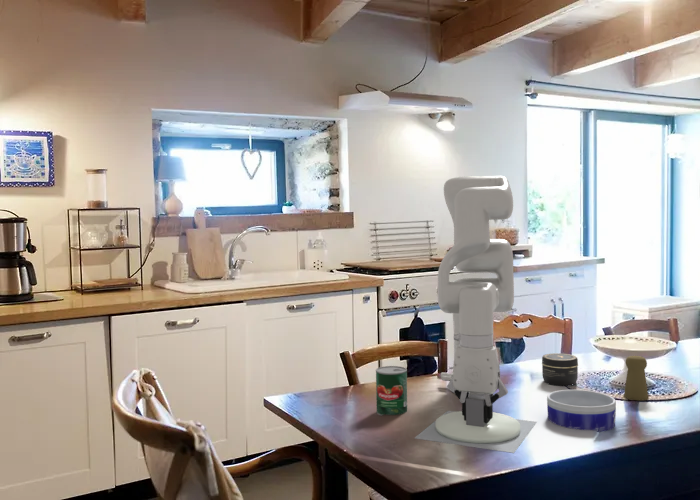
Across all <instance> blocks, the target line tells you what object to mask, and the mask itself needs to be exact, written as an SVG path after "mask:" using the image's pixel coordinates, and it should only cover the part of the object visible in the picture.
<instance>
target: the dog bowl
mask: <svg viewBox="0 0 700 500" xmlns="http://www.w3.org/2000/svg"><path fill="white" fill-rule="evenodd" d="M546 405H547V406H546V407H547V408H546V409H547V419H548V420H549V421H550V422H551V423H552V424H555V425H557V426H559V427H563V428H567V429H574V430H581V431H596V433H602V432H606V431H611V430H612V429H614V428H615V426H616V416H617V415H616V411H617V407H616V406H617V403H616V399H615V398H614V397H613V396H610V395H609V394H606V393H603V392H598V391H593V390H585V389H562V390H561V389H560V390H554V391H552V392H550V393H548V394H547V396H546Z"/></svg>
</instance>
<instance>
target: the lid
mask: <svg viewBox="0 0 700 500" xmlns="http://www.w3.org/2000/svg"><path fill="white" fill-rule="evenodd" d="M485 403H486V401H485V396H484V395H474V394H471V395H469V397H467V398H466V421H465V420H464V416H463V415H462V410H460V411H459V410H458V411H454V412H452V413H448V414H445V415H443V414H441V415H440V416H439V417H437V418H436V420H435V421H436V423H435V425H436V431H437V432H438V433H439V434H441V435H442V436H444V437H447V438H449V439H453V440H457V441H462V442H468V443H497V442H503V441H507V440H511V439H513V438H515V437H517V436H518V435H519V434H520V423H519V422H518V421H517V420H516V419H517V418H515V417H512V416H510V415H507V414H503V413H499V412H494V411H493V417H492V419H490V421H489V422H488V423H484V406H485Z"/></svg>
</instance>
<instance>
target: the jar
mask: <svg viewBox="0 0 700 500" xmlns="http://www.w3.org/2000/svg"><path fill="white" fill-rule="evenodd" d="M541 360H542V361H541V365H542V372H541V373H542V375H541V376H542V378H543V381H544V383H545V384H547V385H551V386H554V387H569V386H568V385H571V386H573V385H572V384H574V385H576V383H577V381H578V375H579V374H578V370H579V369H578V368H579V367H578V366H579V363H578V362H579V361H578V360H579V359H578V357H577V356H576V355H573V354H569V353H561V352H560V353H556V352H555V353H553V352H552V353H546V354H543V355H542V358H541Z"/></svg>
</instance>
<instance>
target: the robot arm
mask: <svg viewBox="0 0 700 500" xmlns="http://www.w3.org/2000/svg"><path fill="white" fill-rule="evenodd" d="M513 196H514V195H513V192H512V189H511V185H510V182H509V180H508V178H507V177H506V176H503V175H479V176H478V175H471V176H459V177H457V176H456V177H453V178H449V179H447V180H446V181H445V183H444V184H443V197H444V201H445V204H446V207H447V210H448V211H449V214H450V216H451V219H452V223H453V241H454V242H453V243H454V244H453V246H452V247H451V248H450V249H449V250H448V252H446V254H445V255H444V257H443V258H442V260H441V262H440V265H439V267H438V270H437V271H438V272H437V303H438V306H439V308H440V310H441V311H442V312H444V313H445V314H452V323H453V363H452V364H453V365H452V366H453V367H452V372H451V373H449V372H441V373H440V379H441V380H442V381H447V382H448V384H447V386H446V387H447V389H448V390H449V391H450V392H452V393H454V395H455V396H456V397H457V398H458V400H459V402H460V403H461V411H462V415H463V416H464V420H465V421H466V398H467V397H469V396H470V395H471V394H474V395H483V396H485V401H486V403H485V406H484V423H488V422H489V421H490V419H492V417H493V412H494V411H493V409H494V408H493V407H494V406H493V404H494V403H496V401H497V400H500V399H501V398H503V397H505V396H507V394H508V393H509V391H508V389H507V387H506V386H505V384H504V383H503V381H502V379H501V369H500V361H499V359H500V358H499V355H498V354H499V353H498V350H497V346H494V313H506V312H509V311H510V310H512V308H513V306H514V301H515V283H514V275H515V273H514V254H513V247H512V245H511V243H510V242H509V241H508V240H506V239H502V238H491V235H490V221H492V220H493V221H495V220H496V221H498V220H500V221H501V220H508V219H509V218H510V217H512V214H513V211H514V198H513ZM454 267H455V268H456V269H457V271H458V272H460V273H464V274H494V275H496V277H466V278H465V277H464V278H459V279H456V280H455V281H450V273H451V272H452V270H453V269H454ZM497 390H498V392H496V391H497Z"/></svg>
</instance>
